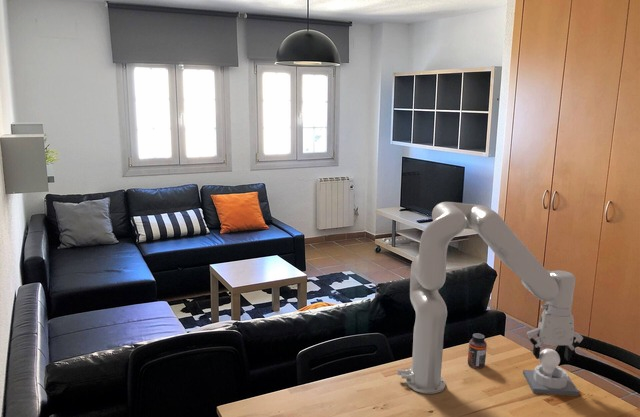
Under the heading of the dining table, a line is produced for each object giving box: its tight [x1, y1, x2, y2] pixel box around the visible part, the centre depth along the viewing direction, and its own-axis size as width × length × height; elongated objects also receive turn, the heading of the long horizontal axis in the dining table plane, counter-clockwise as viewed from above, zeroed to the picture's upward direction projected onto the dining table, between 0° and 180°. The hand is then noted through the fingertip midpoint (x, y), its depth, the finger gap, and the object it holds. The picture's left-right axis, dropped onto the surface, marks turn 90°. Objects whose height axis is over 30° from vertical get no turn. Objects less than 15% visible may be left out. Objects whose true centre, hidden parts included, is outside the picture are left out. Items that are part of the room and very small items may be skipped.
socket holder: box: [522, 364, 580, 397], centre depth 173 cm, size 14×12×4 cm
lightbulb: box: [538, 348, 561, 378], centre depth 172 cm, size 6×6×11 cm
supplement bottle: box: [467, 332, 488, 369], centre depth 184 cm, size 6×6×11 cm
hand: (551, 358), depth 171 cm, fingers open, 9 cm apart
